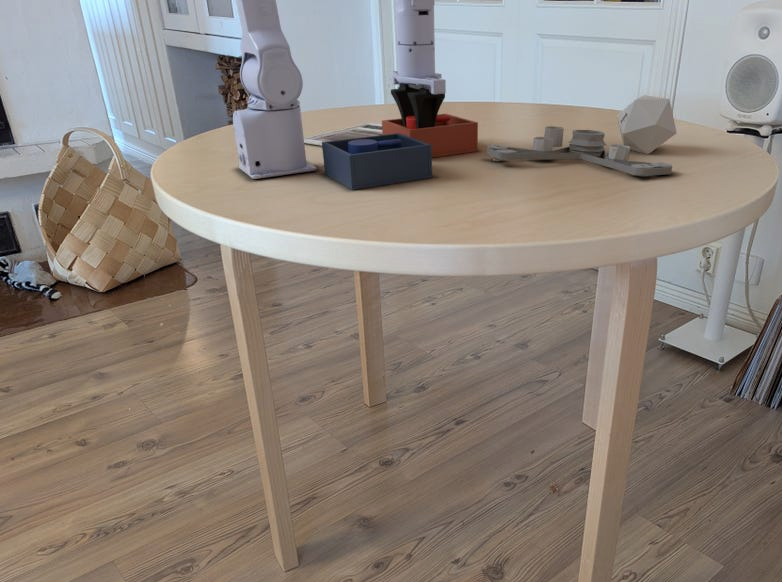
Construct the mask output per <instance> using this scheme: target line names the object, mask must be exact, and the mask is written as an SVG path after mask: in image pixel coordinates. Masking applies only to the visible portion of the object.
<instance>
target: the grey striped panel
mask: <svg viewBox="0 0 782 582" xmlns="http://www.w3.org/2000/svg"><path fill="white" fill-rule="evenodd" d="M378 135H383V132H382V123H373V122H366V123H363V124H362V123H361V124H357V125H354V126H348V127H345V128H341V129H337V130H332V131H329V132H328V131H327V132H323V133H319V134H315V135H310V136H307V137H304V144H307V145H315V146H321V147H322V142H327V141H336V140H344V139H352V138H361V137H369V136H378Z"/></svg>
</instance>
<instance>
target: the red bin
mask: <svg viewBox="0 0 782 582" xmlns="http://www.w3.org/2000/svg"><path fill="white" fill-rule="evenodd" d="M443 115H449V116H450V117H451V119H450V120H449V121H442V122H435V126H434V127H429V128H420V129H409V128H406V127H404V125H403V122H402V118H401V117H399V118H392V119H384V120H383V119H382V120H381V124H382V132H383V135H386V134H394V133H395V134H396V133H400V134H403V135H405V136H408V137H411V138H414V139H416V140H419V141H422V142H425V143H427V144H430V145H431V147H432V158H439V157H446V156H453V155H459V154H468V153H474V152H478V150H479V149H478V144H479V140H478V139H479V138H478V137H479V122H477V121H475V120H470V119H467V118H463V117H460V116H456V115H453V114H450V113H438V114H437V116H443Z"/></svg>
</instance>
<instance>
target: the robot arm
mask: <svg viewBox="0 0 782 582" xmlns="http://www.w3.org/2000/svg"><path fill="white" fill-rule="evenodd" d="M235 3H236V7H237V12H238V17H239V22H240V27H241V40H240V52H241V65H240V68H239V79H240V82H241V85H242V87H243V89H244V90H245V92H246V93H247V94H249V97H248V100H247V108H244V109H238V110H235V111H233V114H232V126H233V132H234V133H233V134H234V139H235V144H236V152H237V156H238V157H237V159H238V162H239V163H238V164H239V165H238V169H240V170H241V171H242V172H244V173H245V174H246V175H248V176H249V178H251V179H253V180H256V179H265V178H272V177H279V176H285V175H286V176H287V175H293V174H300V173H301V174H302V173H309V172H316V171H317V167H316V166H314V165H313V164H312V163H310V162H308V161H307V155H306V147H305V143H304V138H305V137H304V128H303V119H302V112H301V103H300V100H298V99H299V98H300V96H301V94H302V91H303V85H304V84H303V83H304V82H303V81H304V80H303V76H302V73H301V71H300V69H299V67H298V66H297V65H296V63H295V62H294V60H293V57H292V52H291V47H290V44H289V42H288V40H287V38H286V36H285V33H284V32H283V30H282V27H281V22H280V21H281V20H280V16H279V10H278V6H277V0H235ZM394 3H395V26H396V27H395V29H396V50H397V51H396V52H397V70H393V71H390V77H391V79H390V80H391V85H395V86H396V85H399V86H398V87H397V88H393V89H390V94H391V96H392V98H393V99H394V101H395V104H396V106H397V108H398V111H399V114H400V118H402V122H403V125H404V127H406V128H407V126H406V117H408V116H414V115H415V120H416V128H417V129H420V128H429V127H434V126H435V121H436V117H437V114H439V111H440V108H441V107H442V104H443V102H444V100H445V99H446V92H447V89H446V87H447V86H446V83H447V82H446V79H444V78H443V77H442V73H438V72H436V50H435V49H436V46H435V45H436V43H435V42H436V40H435V39H436V38H435V35H436V34H435V0H394Z"/></svg>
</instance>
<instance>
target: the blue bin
mask: <svg viewBox="0 0 782 582" xmlns="http://www.w3.org/2000/svg"><path fill="white" fill-rule="evenodd" d="M359 139H370V140H375V141H384V140H392V139H400V140H401V144H400V145H398V146H390V147H382V148H377V149H378V151H374V152H366V153H358V154H350V153H349V150H348V142H349V141H352V140H359ZM321 148H322V150H321V151H322V159H323V167H324V175H326V176H327V177H329V178H331V179H333V180H334V181H336V182H338V183H340V184H342V185H343V186H345V187H347V188H348V189H349V190H351V191H354V190H361V189H368V188H375V187H381V186H387V185H393V184H400V183H407V182H413V181H419V180H425V179H432V178H433V157H432V147H431V145H430V144H427V143H425V142H422V141H419V140H416V139H414V138H411V137H408V136H405V135H403V134H400V133H396V134H395V133H394V134H386V135H378V136H369V137H361V138H352V139H344V140H336V141H327V142H322V146H321Z"/></svg>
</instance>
